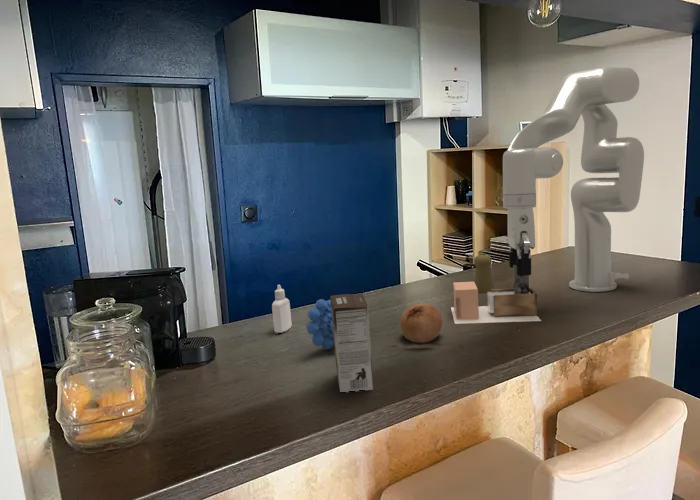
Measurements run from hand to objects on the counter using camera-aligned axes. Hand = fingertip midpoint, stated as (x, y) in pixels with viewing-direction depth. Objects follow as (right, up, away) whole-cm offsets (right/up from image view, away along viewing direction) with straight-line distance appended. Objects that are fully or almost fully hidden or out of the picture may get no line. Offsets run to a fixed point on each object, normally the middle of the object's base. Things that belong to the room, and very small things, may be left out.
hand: (519, 271), depth 127 cm
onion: (-25, -16, -10) cm, 31 cm away
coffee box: (-41, -20, -29) cm, 54 cm away
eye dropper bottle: (-59, -16, +5) cm, 61 cm away
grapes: (-46, -17, -11) cm, 50 cm away
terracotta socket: (-12, -11, +4) cm, 17 cm away
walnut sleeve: (-1, -11, +2) cm, 11 cm away
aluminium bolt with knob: (-2, -10, +2) cm, 10 cm away
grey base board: (-6, -12, +3) cm, 13 cm away
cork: (-1, -7, +29) cm, 30 cm away
